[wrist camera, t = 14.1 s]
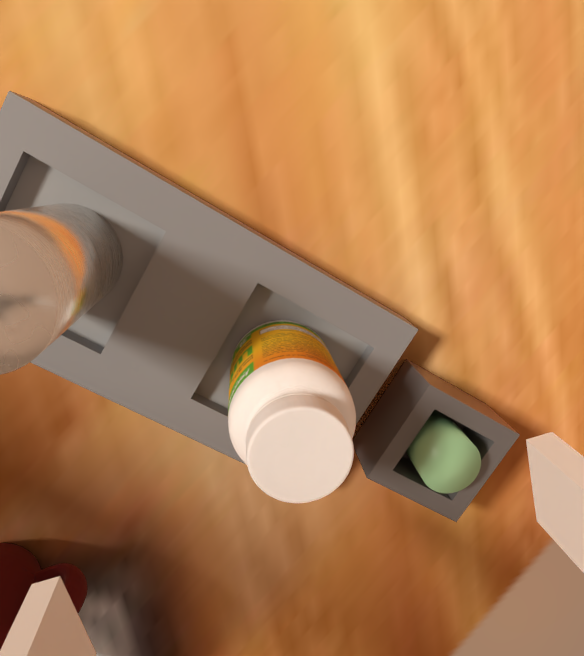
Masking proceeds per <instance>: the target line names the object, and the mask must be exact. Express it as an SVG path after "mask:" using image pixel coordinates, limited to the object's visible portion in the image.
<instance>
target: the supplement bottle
mask: <svg viewBox="0 0 584 656" xmlns="http://www.w3.org/2000/svg"><path fill="white" fill-rule="evenodd" d="M355 426H356V412H355V406H354V402H353V399H352V396H351V394H350V391H349V389H348V387H347V385H346V383H345V381H344V380H343V378H342V376H341V374H340V372H339V370H338V368H337V366H336V364H335V362H334V361H333V359H332V356H331V354H330V353H329V350H328V349H327V347H326V345H325V344H324V342H323V340H322V339H321V338H320V337H319V335H318V334H317V333H315V332H314V331H313V330H312V329H310V328H309V327H307V326H305V325H303V324H301V323H298V322H294V321H289V320H275V321H269V322H266V323H263V324H261V325H258V326H256V327H255V328H253V329H252V330H250V331H249V332H248V333H247V334H245V335H244V337H243V338H242V339H241V340H240V341H239V343H238V344H237V346H236V348H235V350H234V353H233V355H232V359H231V365H230V381H229V403H228V427H229V434H230V439H231V442H232V444H233V447H234V449H235V451H236V452H237V454H238V455H239V457H240V458H241V459H242V460H243V462H244V463H245V464H246V465H247V466H248V470H249V473H250V475H251V477H252V479H253V480H254V482H255V483H256V485H257V486H258V487H259V488H260V489H261V490H262V491H263V492H264V493H266V494H267V495H269V496H271V497H273V498H275V499H277V500H280V501H283V502H288V503H307V502H312V501H315V500H318V499H321V498H323V497H325V496H327V495H329V494H330V493H332V492H333V491H334V490H336V489H337V488H338V487H339V486H340V485H341V484H342V483H343V481H344V480H345V478H346V477H347V475H348V473H349V471H350V469H351V466H352V463H353V458H354V445H353V441H352V438H353V435H354V432H355Z"/></svg>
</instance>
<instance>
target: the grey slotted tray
mask: <svg viewBox="0 0 584 656" xmlns="http://www.w3.org/2000/svg"><path fill="white" fill-rule="evenodd" d="M58 203H71V204H77V205H81V206H84V207H87V208H89V209H91V210H93V211H95V212H96V213H98V214H99V215H101V216H102V217H103V218H104V219H105V220H106V221H107V222H108V223H109V224H110V225H111V226H112V228H113V229H114V231H115V232H116V234H117V236H118V238H119V241H120V243H121V247H122V252H123V266H122V271H121V274H120V277H119V279H118V281H117V283H116V284H115V286H114V287H113V288H112V290H111V291H110V292H109V293H107V294H106V295H105V296H104V297H103V298H102V299H101V300H100V301H98V302H97V303H96V304H95V305H94V306H93V307H92V308H91V309H90V310H88V311H87V312H86V313H85V314H84V315H83V316H82V317H81V318H79V319H78V320H77V321H76V322H75V323H74V324H73V325H72V326H70V327H69V328H68V329H67V330H66V331H65V332H64V333H63V334H61V335H60V336H59V337H58V338H57V339H56V340H55V341H54V342H52V343H51V344H50V345H49V346H48V347H47V348H46V349H45V350H43V351H42V352H41V353H40V354H39V355H38V356H37V357H36V358H35V359H33V360H32V361H31V363H33V364H35V365H37V366H39V367H41V368H43V369H46V370H48V371H50V372H52V373H54V374H56V375H58V376H60V377H62V378H65V379H67V380H69V381H71V382H73V383H75V384H77V385H79V386H81V387H84V388H86V389H88V390H90V391H92V392H94V393H96V394H98V395H100V396H103V397H105V398H107V399H109V400H111V401H113V402H115V403H117V404H119V405H122V406H124V407H126V408H128V409H130V410H132V411H134V412H136V413H138V414H141V415H143V416H145V417H147V418H149V419H151V420H153V421H155V422H157V423H160V424H162V425H164V426H166V427H168V428H170V429H172V430H174V431H176V432H179V433H181V434H183V435H185V436H187V437H189V438H191V439H193V440H195V441H198V442H200V443H202V444H204V445H206V446H208V447H210V448H212V449H214V450H217V451H219V452H221V453H223V454H225V455H227V456H229V457H231V458H233V459H236V460H238V461H240V462H242V463H244V462H243V460H242V459H241V458H240V457H239V455H238V454H237V452H236V451H235V449H234V447H233V444H232V442H231V439H230V434H229V427H228V403H229V381H230V365H231V359H232V355H233V353H234V350H235V348H236V346H237V344H238V343H239V341H240V340H241V339H242V338H243V337H244V335H245V334H247V333H248V332H249V331H250V330H252V329H253V328H255V327H256V326H258V325H261V324H263V323H266V322H269V321H275V320H289V321H294V322H298V323H301V324H303V325H305V326H307V327H309V328H310V329H312V330H313V331H314V332H315V333H317V334H318V335H319V337H320V338H321V339H322V340H323V342H324V344H325V345H326V347H327V349H328V350H329V353H330V354H331V356H332V359H333V361H334V362H335V364H336V366H337V368H338V370H339V372H340V374H341V376H342V378H343V380H344V381H345V383H346V385H347V387H348V389H349V391H350V394H351V396H352V399H353V402H354V406H355V412H356V424H357V422H358V421H359V419H360V418H361V416H362V415H363V413H364V412H365V410H366V409H367V407H368V406H369V404H370V403H371V401H372V400H373V398H374V397H375V395H376V393H377V392H378V390H379V389H380V387H381V386H382V384H383V383H384V381H385V380H386V378H387V377H388V375H389V374H390V372H391V371H392V369H393V368H394V366H395V365H396V363H397V362H398V360H399V359H400V357H401V355H402V354H403V352H404V351H405V349H406V348H407V346H408V345H409V343H410V342H411V340H412V339H413V337H414V336H415V334H416V333H417V331H418V329H417V328H416V327H415V326H414V325H412V324H411V323H410V322H409V321H408V320H407V319H405V318H404V317H402V316H401V315H399V314H397V313H396V312H394V311H392V310H390V309H389V308H387V307H385V306H384V305H382V304H380V303H378V302H377V301H375V300H373V299H372V298H370V297H368V296H367V295H365V294H363V293H361V292H360V291H358V290H356V289H355V288H353V287H351V286H349V285H348V284H346V283H344V282H343V281H341V280H339V279H337V278H336V277H334V276H332V275H331V274H329V273H327V272H326V271H324V270H322V269H320V268H319V267H317V266H315V265H314V264H312V263H310V262H308V261H307V260H305V259H303V258H302V257H300V256H298V255H296V254H295V253H293V252H291V251H290V250H288V249H286V248H285V247H283V246H281V245H279V244H278V243H276V242H274V241H273V240H271V239H269V238H267V237H266V236H264V235H262V234H261V233H259V232H257V231H256V230H254V229H252V228H250V227H249V226H247V225H245V224H244V223H242V222H240V221H238V220H237V219H235V218H233V217H232V216H230V215H228V214H226V213H225V212H223V211H221V210H220V209H218V208H216V207H215V206H213V205H211V204H209V203H208V202H206V201H204V200H203V199H201V198H199V197H197V196H196V195H194V194H192V193H191V192H189V191H187V190H185V189H184V188H182V187H180V186H179V185H177V184H175V183H174V182H172V181H170V180H168V179H167V178H165V177H163V176H162V175H160V174H158V173H156V172H155V171H153V170H151V169H150V168H148V167H146V166H144V165H143V164H141V163H139V162H138V161H136V160H134V159H133V158H131V157H129V156H127V155H126V154H124V153H122V152H121V151H119V150H117V149H115V148H114V147H112V146H110V145H109V144H107V143H105V142H104V141H102V140H100V139H98V138H97V137H95V136H93V135H92V134H90V133H88V132H86V131H85V130H83V129H81V128H80V127H78V126H76V125H74V124H73V123H71V122H69V121H68V120H66V119H64V118H63V117H61V116H59V115H57V114H56V113H54V112H52V111H51V110H49V109H47V108H45V107H44V106H42V105H40V104H39V103H37V102H35V101H33V100H32V99H30V98H27V97H25V96H22V95H19V94H17V93H14V92H11V91H9V92H8V94H7V97H6V99H5V101H4V103H3V106H2V108H1V110H0V212H3V211H10V210H16V209H23V208H30V207H37V206H44V205H51V204H58ZM244 464H245V463H244Z"/></svg>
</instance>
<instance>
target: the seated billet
mask: <svg viewBox="0 0 584 656" xmlns="http://www.w3.org/2000/svg"><path fill="white" fill-rule="evenodd" d="M122 266H123V252H122V247H121V243H120V241H119V238H118V236H117V234H116V232H115V231H114V229H113V228H112V226H111V225H110V224H109V223H108V222H107V221H106V220H105V219H104V218H103V217H102V216H101V215H99V214H98V213H96V212H95V211H93V210H91V209H89V208H87V207H84V206H81V205H77V204H71V203H58V204H51V205H44V206H37V207H30V208H23V209H16V210H10V211H3V212H0V374H5V373H8V372H11V371H14V370H17V369H19V368H21V367H23V366H25V365H26V364H28V363H29V362H31V361H32V360H33V359H35V358H36V357H37V356H38V355H39V354H40V353H41V352H42V351H43V350H45V349H46V348H47V347H48V346H49V345H50V344H51V343H52V342H54V341H55V340H56V339H57V338H58V337H59V336H60V335H61V334H63V333H64V332H65V331H66V330H67V329H68V328H69V327H70V326H72V325H73V324H74V323H75V322H76V321H77V320H78V319H79V318H81V317H82V316H83V315H84V314H85V313H86V312H87V311H88V310H90V309H91V308H92V307H93V306H94V305H95V304H96V303H97V302H98V301H100V300H101V299H102V298H103V297H104V296H105V295H106V294H107V293H109V292H110V291H111V290H112V288H113V287H114V286H115V284H116V283H117V281H118V279H119V277H120V274H121V271H122Z"/></svg>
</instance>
